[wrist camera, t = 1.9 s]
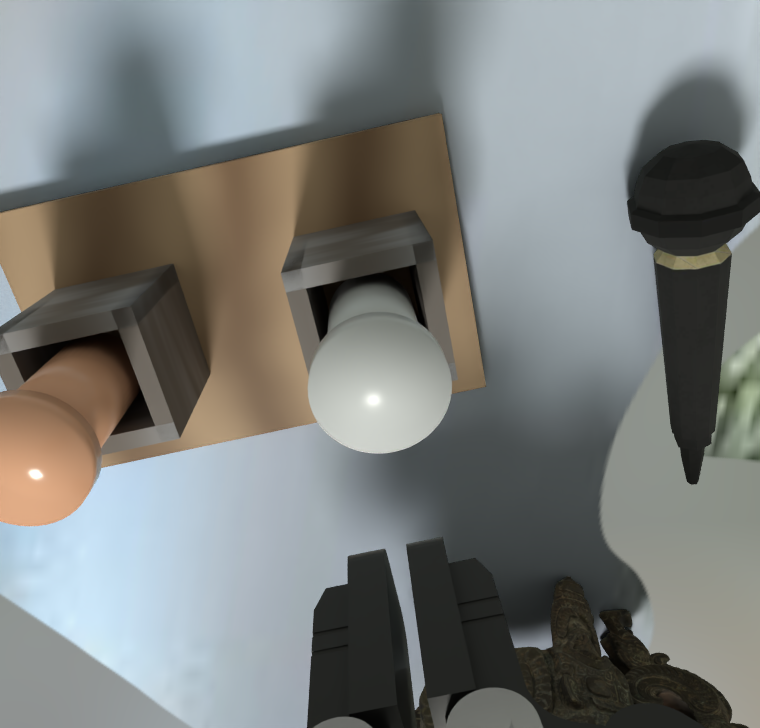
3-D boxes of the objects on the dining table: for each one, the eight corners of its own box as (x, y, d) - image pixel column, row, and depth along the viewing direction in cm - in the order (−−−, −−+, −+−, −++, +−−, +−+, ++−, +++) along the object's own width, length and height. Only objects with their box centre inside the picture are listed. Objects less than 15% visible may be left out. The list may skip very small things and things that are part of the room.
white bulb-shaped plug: (413, 250, 28) (438, 307, 20) (432, 350, 29) (462, 437, 22) (305, 273, 28) (291, 339, 20) (331, 372, 30) (326, 465, 22)
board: (438, 113, 31) (467, 119, 24) (482, 379, 37) (517, 451, 29) (-10, 214, 32) (-116, 250, 25) (97, 460, 37) (36, 551, 30)
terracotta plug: (134, 311, 28) (59, 389, 21) (169, 406, 30) (112, 510, 22) (29, 334, 28) (-82, 419, 21) (71, 428, 30) (-19, 538, 23)
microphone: (691, 438, 43) (689, 120, 33) (770, 487, 38) (795, 131, 28) (621, 475, 41) (598, 155, 32) (694, 530, 37) (692, 172, 27)
